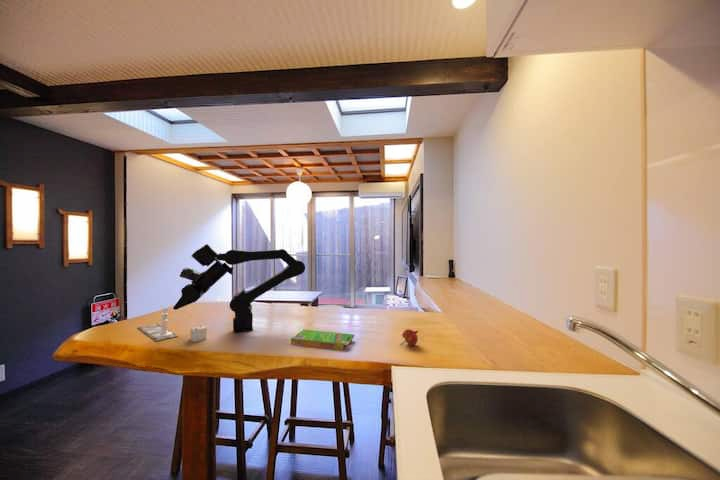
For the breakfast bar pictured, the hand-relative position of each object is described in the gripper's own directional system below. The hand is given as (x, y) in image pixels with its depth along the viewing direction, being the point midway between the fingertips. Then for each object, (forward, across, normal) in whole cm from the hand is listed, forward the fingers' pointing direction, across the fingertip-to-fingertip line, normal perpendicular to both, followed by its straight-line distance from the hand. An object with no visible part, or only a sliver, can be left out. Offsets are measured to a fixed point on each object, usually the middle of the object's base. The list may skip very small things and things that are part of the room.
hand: (178, 306), depth 96 cm
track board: (+14, -7, +2) cm, 15 cm away
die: (+2, +6, +13) cm, 15 cm away
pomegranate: (-46, +36, +62) cm, 85 cm away
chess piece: (+10, 0, +5) cm, 12 cm away
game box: (-27, +23, +43) cm, 55 cm away
